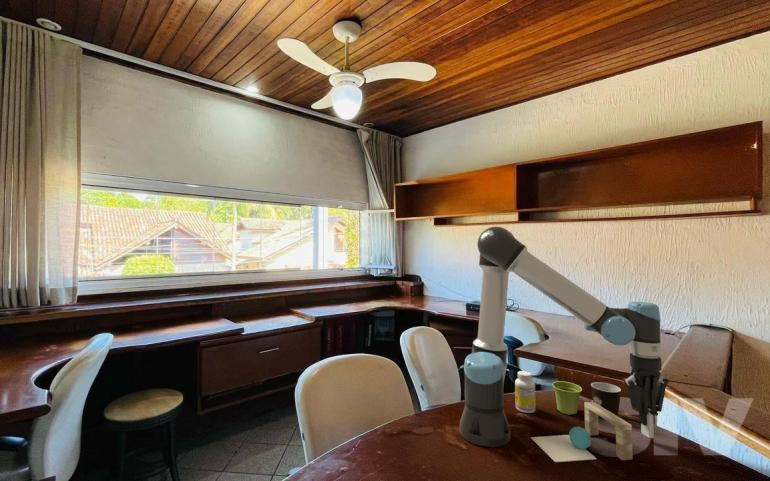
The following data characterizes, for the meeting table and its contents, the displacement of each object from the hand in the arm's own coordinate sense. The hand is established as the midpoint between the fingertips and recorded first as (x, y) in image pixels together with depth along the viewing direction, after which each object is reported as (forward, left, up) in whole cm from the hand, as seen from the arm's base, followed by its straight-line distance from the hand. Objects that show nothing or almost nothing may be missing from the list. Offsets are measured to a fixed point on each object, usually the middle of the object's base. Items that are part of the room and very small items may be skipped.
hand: (647, 435), depth 101 cm
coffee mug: (0, +17, -2) cm, 17 cm away
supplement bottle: (-25, +24, -2) cm, 35 cm away
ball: (-22, 0, +1) cm, 22 cm away
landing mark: (-27, 0, -2) cm, 27 cm away
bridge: (-13, 0, -2) cm, 13 cm away
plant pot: (-11, +21, -2) cm, 24 cm away
